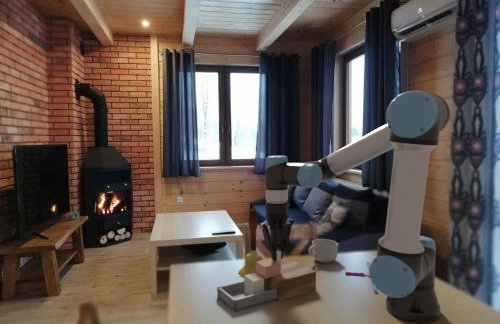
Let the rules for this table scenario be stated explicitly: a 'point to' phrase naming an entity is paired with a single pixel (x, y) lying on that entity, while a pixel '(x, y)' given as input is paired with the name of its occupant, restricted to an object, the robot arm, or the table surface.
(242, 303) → the tray
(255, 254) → the handbell
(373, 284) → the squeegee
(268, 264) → the tile rear
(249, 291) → the white square block
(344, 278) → the table surface
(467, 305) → the table surface
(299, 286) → the wooden block
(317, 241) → the teacup
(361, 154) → the robot arm
